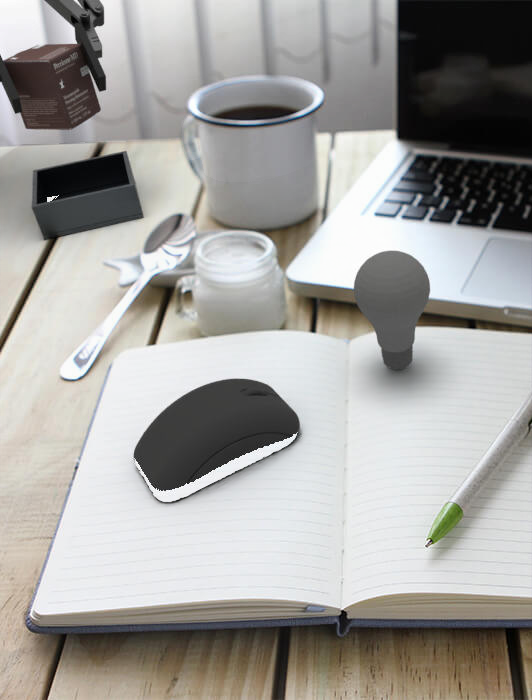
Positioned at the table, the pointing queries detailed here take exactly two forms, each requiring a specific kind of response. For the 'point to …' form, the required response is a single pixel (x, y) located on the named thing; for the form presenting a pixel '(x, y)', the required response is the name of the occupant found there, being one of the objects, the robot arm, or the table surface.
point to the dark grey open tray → (85, 195)
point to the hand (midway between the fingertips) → (60, 94)
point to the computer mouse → (212, 430)
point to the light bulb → (393, 302)
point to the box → (53, 86)
